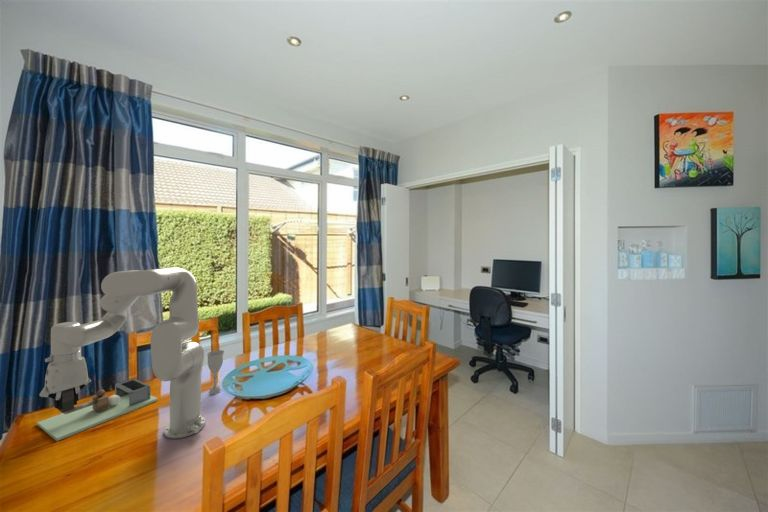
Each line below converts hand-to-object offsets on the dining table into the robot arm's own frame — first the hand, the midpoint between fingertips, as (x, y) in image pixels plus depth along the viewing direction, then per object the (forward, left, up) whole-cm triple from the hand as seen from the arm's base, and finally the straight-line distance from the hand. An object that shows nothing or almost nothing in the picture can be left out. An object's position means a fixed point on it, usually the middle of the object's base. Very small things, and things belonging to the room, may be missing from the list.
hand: (66, 405), depth 108 cm
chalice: (-22, -42, -7) cm, 48 cm away
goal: (0, -20, -7) cm, 21 cm away
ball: (0, -14, -4) cm, 14 cm away
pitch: (0, -10, -7) cm, 12 cm away
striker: (0, -5, -6) cm, 7 cm away
